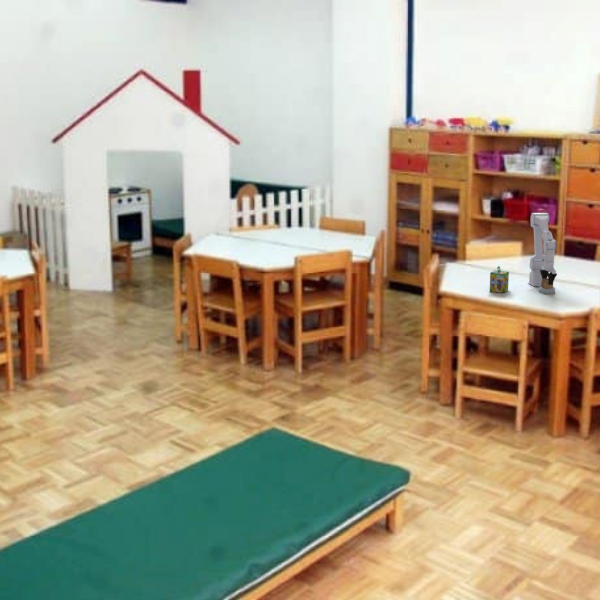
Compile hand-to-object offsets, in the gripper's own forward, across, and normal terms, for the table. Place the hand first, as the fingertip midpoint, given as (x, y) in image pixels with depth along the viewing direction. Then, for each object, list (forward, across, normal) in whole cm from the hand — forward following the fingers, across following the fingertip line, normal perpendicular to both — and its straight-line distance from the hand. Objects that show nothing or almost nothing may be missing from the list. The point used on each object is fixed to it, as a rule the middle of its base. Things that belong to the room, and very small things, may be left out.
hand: (547, 283), depth 518 cm
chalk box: (+6, -10, -26) cm, 28 cm away
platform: (+6, 0, 0) cm, 6 cm away
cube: (+3, 0, 0) cm, 3 cm away
